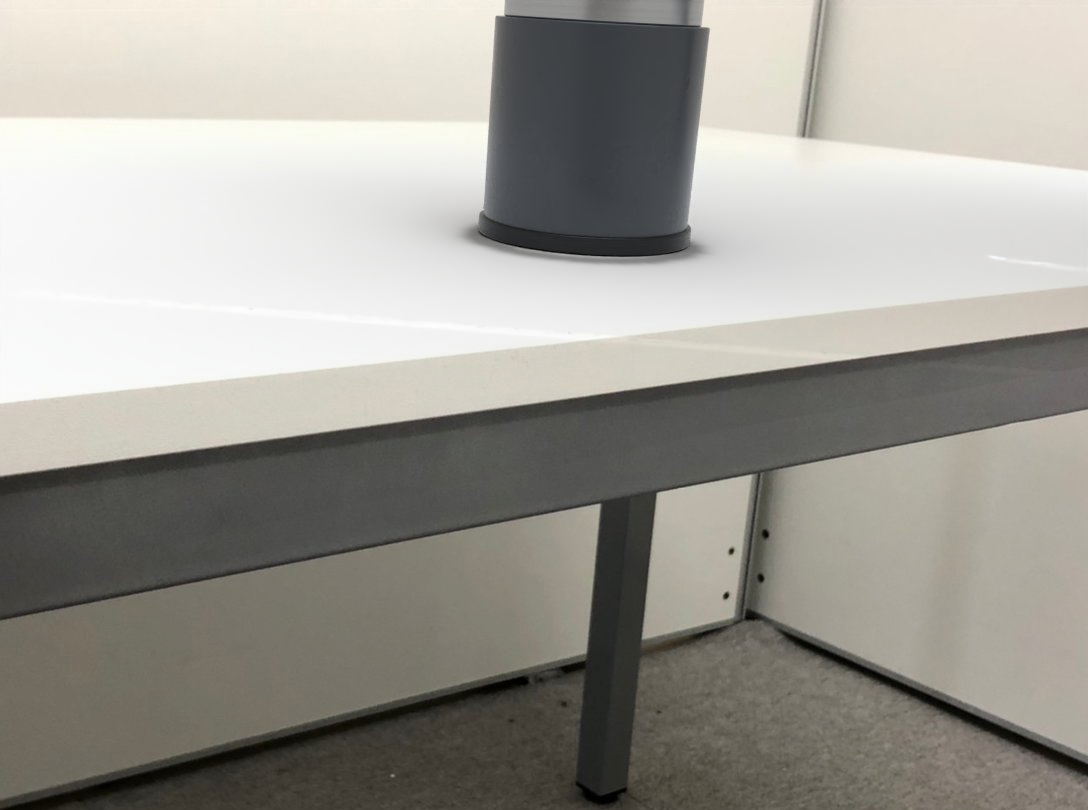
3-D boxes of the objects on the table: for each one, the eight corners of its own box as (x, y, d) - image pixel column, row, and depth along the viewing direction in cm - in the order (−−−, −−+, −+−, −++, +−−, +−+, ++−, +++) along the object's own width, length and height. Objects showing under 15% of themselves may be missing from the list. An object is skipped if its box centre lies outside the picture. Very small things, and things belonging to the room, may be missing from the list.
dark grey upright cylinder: (683, 226, 69) (711, -17, 65) (695, 262, 59) (729, -21, 55) (487, 212, 70) (502, -28, 66) (467, 246, 60) (484, -34, 56)
